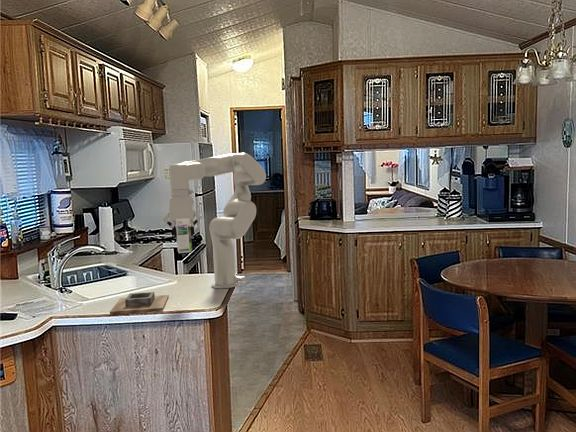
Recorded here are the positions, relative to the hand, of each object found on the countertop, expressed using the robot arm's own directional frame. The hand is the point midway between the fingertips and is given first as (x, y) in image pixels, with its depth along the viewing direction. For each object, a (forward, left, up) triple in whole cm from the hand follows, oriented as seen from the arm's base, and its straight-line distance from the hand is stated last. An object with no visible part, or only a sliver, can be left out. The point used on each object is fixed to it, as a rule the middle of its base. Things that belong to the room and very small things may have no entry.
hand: (183, 236), depth 218 cm
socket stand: (+18, +7, -27) cm, 33 cm away
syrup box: (0, 0, -7) cm, 7 cm away
